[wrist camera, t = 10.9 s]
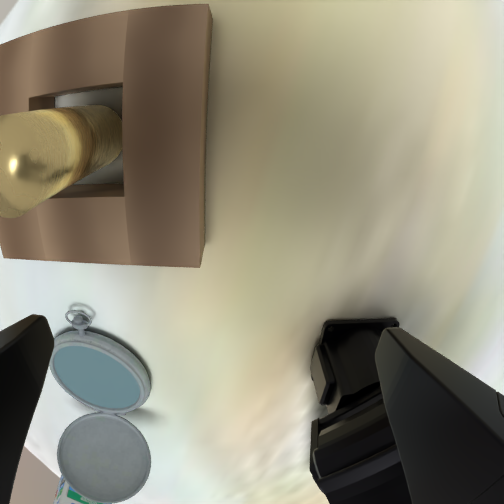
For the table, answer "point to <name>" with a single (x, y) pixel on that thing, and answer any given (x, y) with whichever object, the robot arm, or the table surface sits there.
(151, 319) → the table surface
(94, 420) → the pocket watch
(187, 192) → the jig block
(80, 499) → the light bulb box
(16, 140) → the gold cylinder
